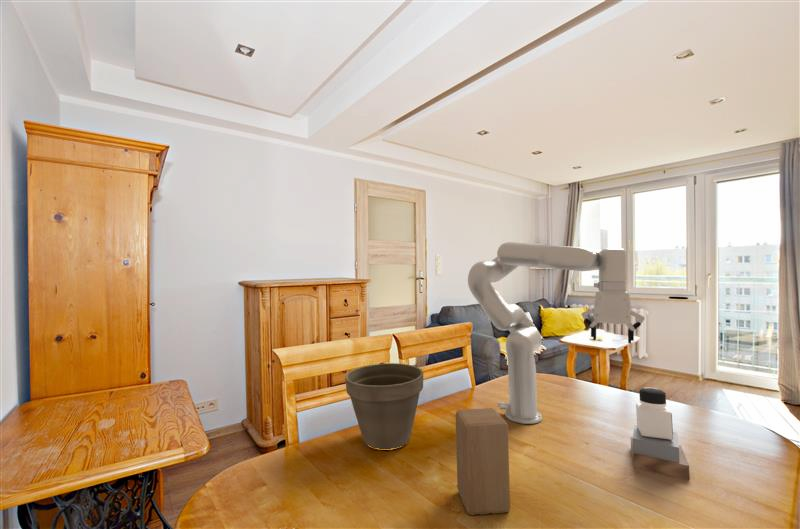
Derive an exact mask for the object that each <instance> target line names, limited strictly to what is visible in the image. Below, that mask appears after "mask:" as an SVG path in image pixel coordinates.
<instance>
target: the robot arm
mask: <svg viewBox="0 0 800 529" xmlns="http://www.w3.org/2000/svg"><path fill="white" fill-rule="evenodd" d="M518 267H527V268H536V269H537V268H538V269H554V270H556V269H557V270H564V271H565V270H566V271H575V272H588V271H589V272H590V271H598V282H594V283H593V288H596V289H598V290H596V291H595V295H594V302H593V308H591V309H588V310H586V311H583V312H581V316H582V318H583V320H584V323H586V324H587V325H588V326H589V327H590V338H592V341H596V340H597V326H596V325H598V324H599V323H600V324H611V325H612V324H614V325H626V326H627V328H628V330H627V333H628V334H627V343H628V344H629V345H630V344H632V342H634V339H635V334H634V333H635V331H636V330H637V328H640V326H641V325H642V323H644V321H645V319H646V317H645V316H644V315H641V314H640V313H638V312H636V311H634V310H632V308H631V307H632V306H631V297H630V293H629V292H628V291H627V252H626V250H625V249H624V248H613V247H612V248H611V247H610V248H609V247H608V248H602V249H594V248H589V247H583V246H580V247H578V246H563V245H561V246H560V245H550V244H544V243H534V242H533V243H531V242H529V243H528V242H515V241H514V242H513V241H510V242H508V241H507V242H504V243H502V244H500V246H499V247H498V249H497V254H496V257H494V259H492V260H481V261H479V262H475V263H474V264H473V265H472V266H471V267H470V269H469V272H468V275H467V285H468V288H469V291H470V292H471V294H472V295H473V297H474V299H475V300H476V301H477V302H478V304H479V305H480V307H481V309H482V310H483V311H484V313H485V315H486V316H487V317H488V318H489V320H490V322H491V323H492V324H493V326H494V327H495V328H496V329H497V330H499V331H503V332H504V331H509V334H508V335H507V338H506V339H505V340H506V341H505V350H506V357H507V369H508V370H507V371H508V372H507V373H508V399H509V400H508V401H507V402H503V401H497V407H498V408H499V409H500V410H505V413H504V415H505V416H504V417H506V419H508V420H509V421H512V422H514V423H518V424H523V425H525V424H527V425H532V424H537V423H540V422H541V421H542V420H543V415H542V414H541V413H540V412H539V411H538V403H537V402H538V397H537V392H538V391H537V366H536V360H535V355H534V354H535V353H534V352H535V351H536V350H538V349H539V348H540V346H541V345H542V335H541V333H540V331H539V330H538V328H537V326H536V325H535V324H534V323H533V322H532V320H531V319H530V318H529V316H528V314H527V313H525V310H523V309H522V308H521V307H520V306H519V305H517V304H515V303H512V302H511V303H510V302H509V303H507V302H506V300H505V299H504V297H503V296H502V295H501V294H500V293H499V291H498V290H497V289H496V288H495V287H494V286H493V285H492V283H497V282H499V281H501V280H503V279H504V278H505V277H508V275H510V274H511V273H512V272H513V271H515V270H516V269H517V268H518ZM591 314H593V321H592V320H591V319H590V318H589V317H588V315H591ZM632 317H634V318H636V319H637V321H636V322H635V323H634V324H633V323H631V321H632Z"/></svg>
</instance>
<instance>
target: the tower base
mask: <svg viewBox="0 0 800 529" xmlns="http://www.w3.org/2000/svg"><path fill="white" fill-rule="evenodd" d="M630 452H631V461H632V468H633V469H636V470H643V471H645V472H646V471H647V472H651V473H655V474H662V475H666V476H670V477H675V478H681V479H685V480H690V464H689V462H688V460H687V457H686V454H685V453H684V448H683V447H682V445H681V444H679V463H675V462H671V461H666V460H662V459H657V458H653V457H648V456H644V455H639V454H635V453H633V436H630Z"/></svg>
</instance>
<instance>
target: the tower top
mask: <svg viewBox="0 0 800 529" xmlns="http://www.w3.org/2000/svg"><path fill="white" fill-rule="evenodd" d="M632 437H633V453H635V454H639V455H644V456H648V457H653V458H657V459H662V460H666V461H671V462H675V463H679V445H680V444H679V436H678V432H674V431H673V440H669V439H662V438H654V437H646V436H642V435H641V433H640V431H639V429H638V428H637V424H635V425H634V426H633V433H632Z"/></svg>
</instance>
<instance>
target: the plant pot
mask: <svg viewBox="0 0 800 529" xmlns="http://www.w3.org/2000/svg"><path fill="white" fill-rule="evenodd" d="M344 381H345V390H346V394H347V395H348V396H349V397H350V401H351V405H352V408H353V411H354V414H355V417H356V418H355V419H356V420H357V424H358V427H359V431H360V434H361V437H362V440H363V442H364V444H365V443H366V444H367V445H369V446H371V447H373V448H379V449H391V448H397V447H400V446H403V445H405V444H406V443H407V444H409V442H410V439H411V435H412V432H413V427H414V422H415V417H416V413H417V408H418V404H419V399H420V394H421V392H422V391H423V389H424V371H423V369H421V368H420V367H417V366H415V365H411V364H405V363H399V362H398V363H395V362H390V363H389V362H387V363H384V362H383V363H376V364H369V365H365V366H360V367H357V368H354V369H351V370H350V371H348V372H347V373H346V375H345V377H344ZM366 444H365V445H366ZM407 444H406V445H407ZM367 445H366V446H367ZM406 445H405V446H406ZM403 447H404V446H403Z"/></svg>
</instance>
